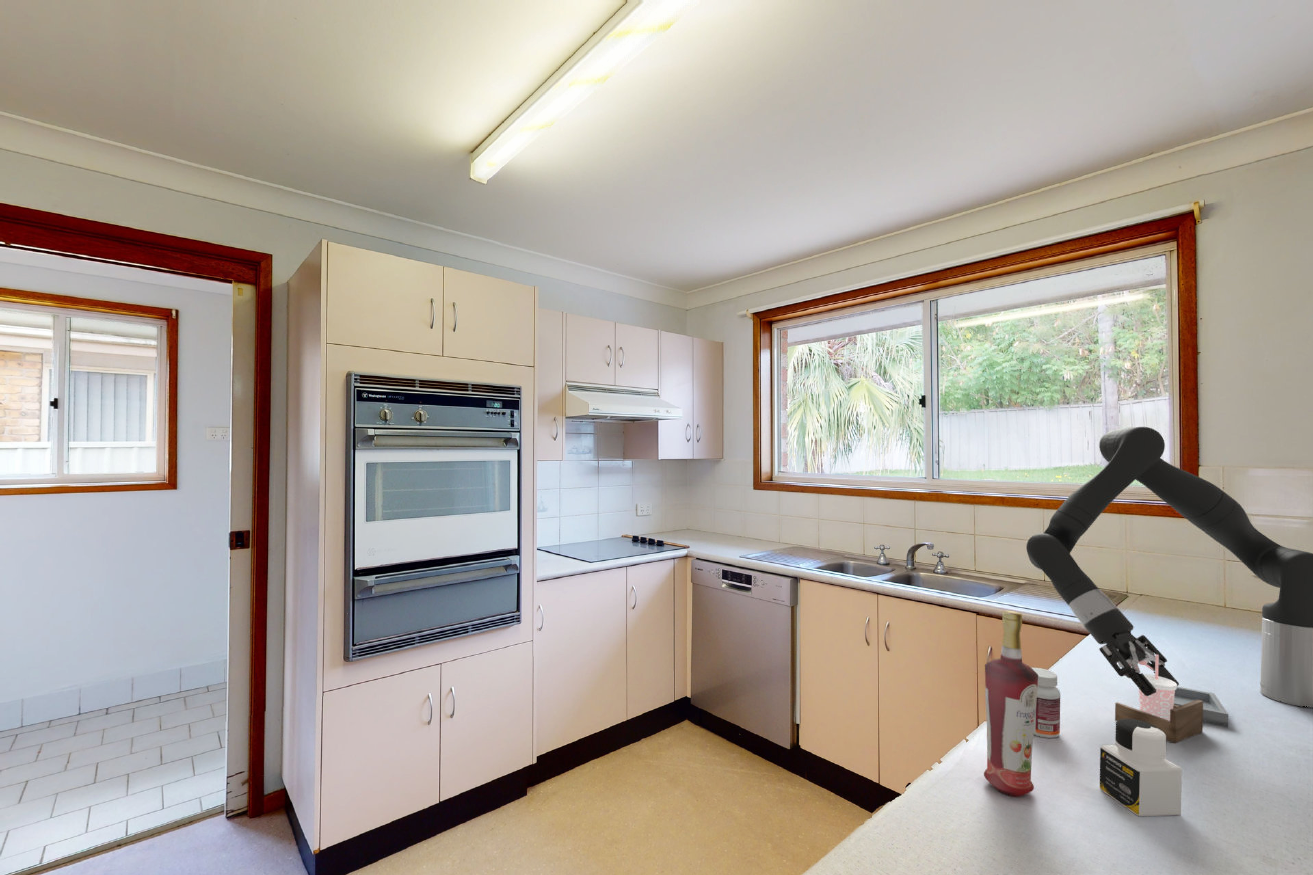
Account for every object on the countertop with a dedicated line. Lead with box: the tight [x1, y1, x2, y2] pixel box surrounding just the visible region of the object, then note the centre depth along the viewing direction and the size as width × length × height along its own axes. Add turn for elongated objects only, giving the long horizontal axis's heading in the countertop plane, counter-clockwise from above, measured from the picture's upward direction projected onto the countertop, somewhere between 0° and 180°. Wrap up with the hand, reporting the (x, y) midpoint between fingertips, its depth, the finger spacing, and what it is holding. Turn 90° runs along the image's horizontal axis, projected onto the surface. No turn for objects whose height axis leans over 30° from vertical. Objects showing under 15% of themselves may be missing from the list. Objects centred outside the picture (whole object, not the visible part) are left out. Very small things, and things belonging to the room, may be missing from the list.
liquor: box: [983, 610, 1038, 798], centre depth 94 cm, size 7×7×28 cm
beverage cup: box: [1138, 654, 1178, 721], centre depth 117 cm, size 6×6×14 cm
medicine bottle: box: [1099, 719, 1183, 817], centre depth 92 cm, size 7×7×12 cm
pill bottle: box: [1031, 667, 1061, 739], centre depth 114 cm, size 6×6×11 cm
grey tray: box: [1174, 686, 1229, 728], centre depth 126 cm, size 12×12×2 cm
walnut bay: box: [1114, 700, 1204, 744], centre depth 117 cm, size 10×11×6 cm
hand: (1163, 690), depth 116 cm, fingers open, 8 cm apart
